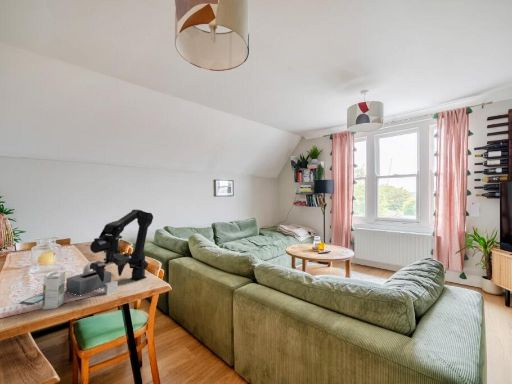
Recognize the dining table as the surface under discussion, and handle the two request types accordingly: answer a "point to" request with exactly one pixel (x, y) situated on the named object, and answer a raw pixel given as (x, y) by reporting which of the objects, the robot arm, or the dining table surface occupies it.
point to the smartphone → (33, 299)
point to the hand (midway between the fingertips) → (111, 278)
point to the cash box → (86, 282)
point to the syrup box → (53, 290)
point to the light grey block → (110, 287)
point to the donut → (87, 268)
